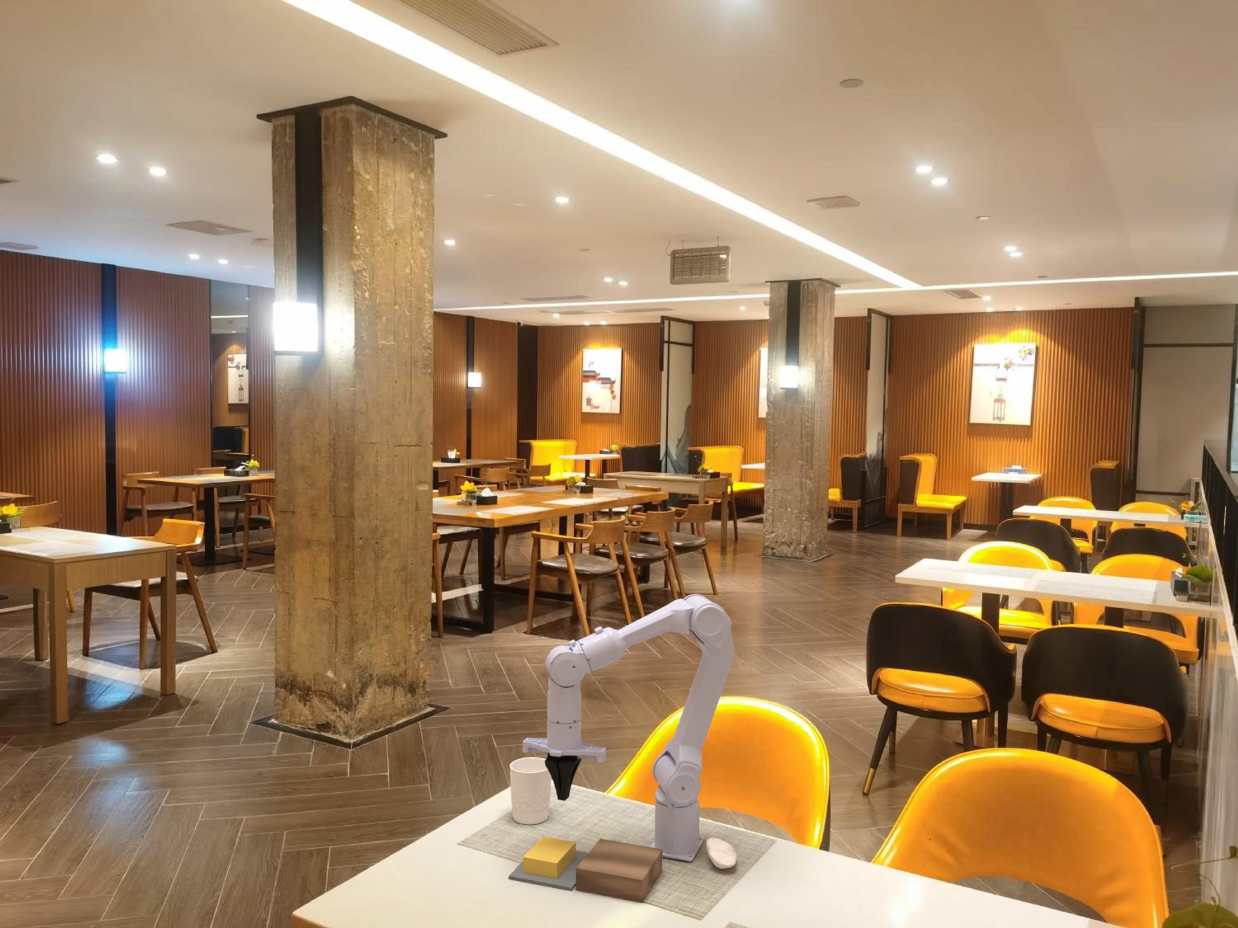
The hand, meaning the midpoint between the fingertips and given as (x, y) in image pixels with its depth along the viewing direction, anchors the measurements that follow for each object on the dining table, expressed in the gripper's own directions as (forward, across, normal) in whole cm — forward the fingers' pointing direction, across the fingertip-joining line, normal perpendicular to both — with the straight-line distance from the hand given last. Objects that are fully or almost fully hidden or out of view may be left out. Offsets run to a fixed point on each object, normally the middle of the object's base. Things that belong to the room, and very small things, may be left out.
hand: (563, 797), depth 151 cm
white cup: (+11, -12, +13) cm, 21 cm away
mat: (+10, 0, -3) cm, 11 cm away
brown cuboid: (+10, +11, -4) cm, 16 cm away
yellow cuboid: (+9, -1, -4) cm, 9 cm away
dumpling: (+11, +26, +7) cm, 29 cm away
